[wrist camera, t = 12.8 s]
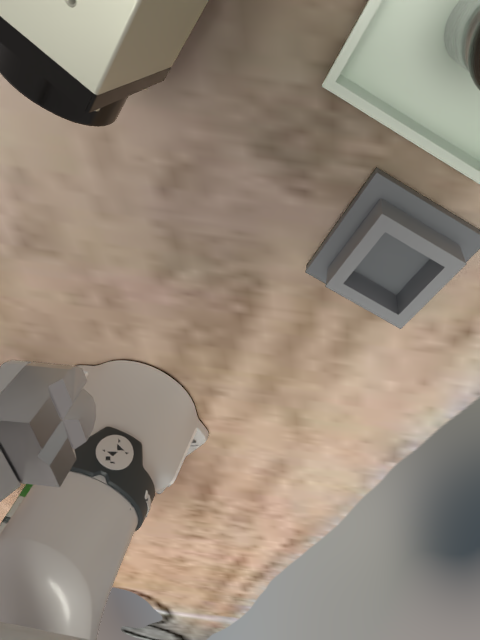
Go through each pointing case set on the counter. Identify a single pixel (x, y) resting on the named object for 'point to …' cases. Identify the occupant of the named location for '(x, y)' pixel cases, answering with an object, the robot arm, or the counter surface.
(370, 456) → the counter surface
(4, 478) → the robot arm
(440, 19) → the bin
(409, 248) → the socket block
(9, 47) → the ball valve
